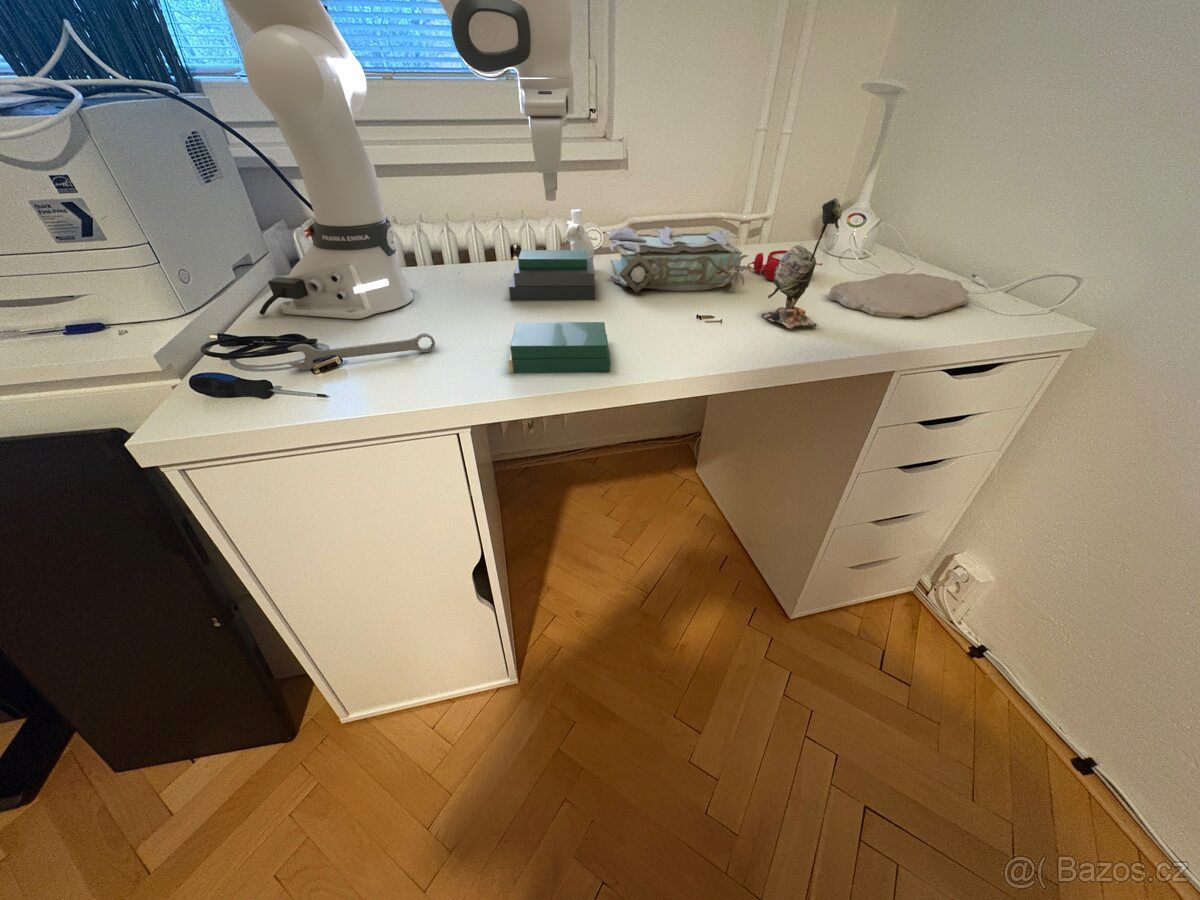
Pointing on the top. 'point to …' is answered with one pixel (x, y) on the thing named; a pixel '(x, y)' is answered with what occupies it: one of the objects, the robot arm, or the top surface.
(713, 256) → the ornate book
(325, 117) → the robot arm
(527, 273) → the grey books
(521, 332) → the green rectangular block
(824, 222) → the plant with pod
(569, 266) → the green book
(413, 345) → the combination wrench
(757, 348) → the top surface
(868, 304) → the stone tablet
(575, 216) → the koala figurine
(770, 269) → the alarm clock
